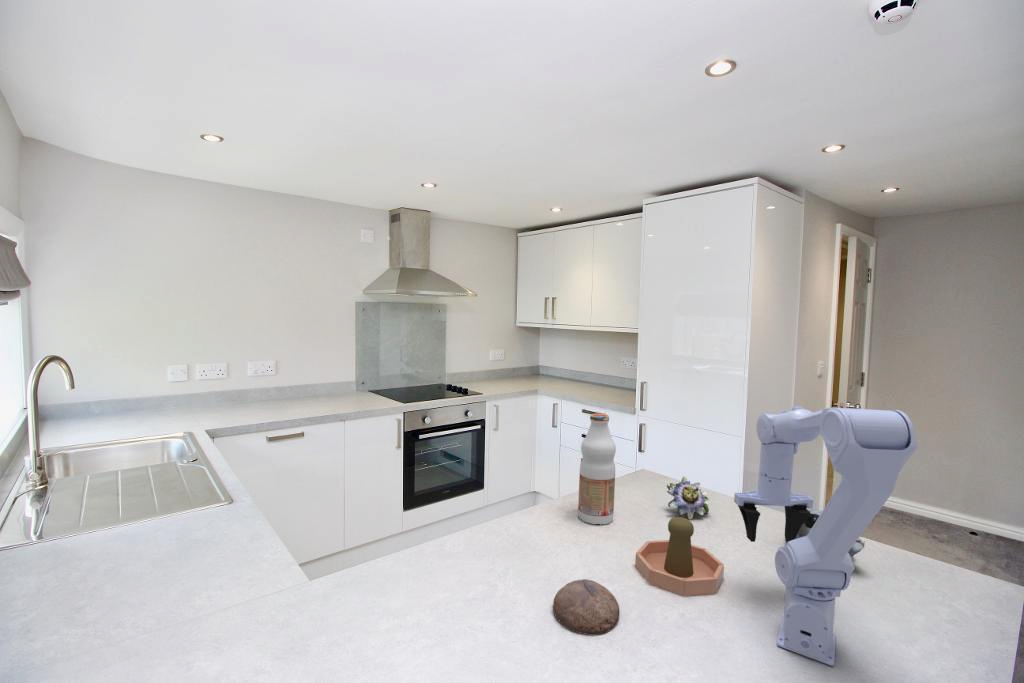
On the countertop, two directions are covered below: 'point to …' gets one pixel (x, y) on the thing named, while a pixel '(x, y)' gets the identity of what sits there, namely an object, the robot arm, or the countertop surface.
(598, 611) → the decorative stone
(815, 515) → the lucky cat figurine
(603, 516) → the fruit juice
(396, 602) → the countertop surface
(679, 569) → the olive knobbed peg
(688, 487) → the passion flower
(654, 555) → the octagonal tray
